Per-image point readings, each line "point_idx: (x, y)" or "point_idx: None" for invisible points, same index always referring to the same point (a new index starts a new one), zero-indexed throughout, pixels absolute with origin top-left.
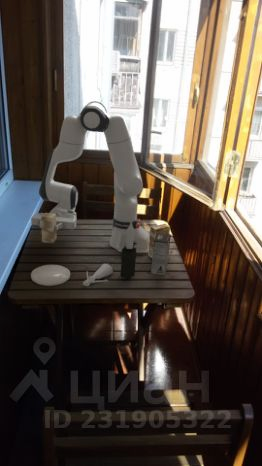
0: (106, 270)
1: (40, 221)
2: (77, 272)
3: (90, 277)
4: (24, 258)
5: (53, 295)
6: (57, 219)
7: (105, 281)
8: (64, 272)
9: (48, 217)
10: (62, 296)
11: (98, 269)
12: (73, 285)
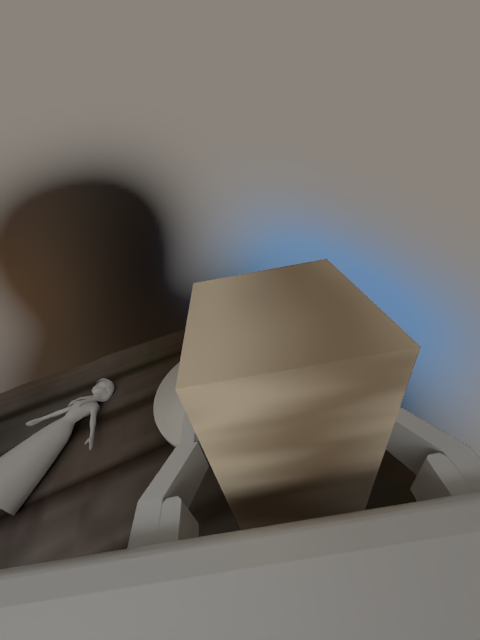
0: (1, 456)
1: (459, 443)
2: (131, 451)
3: (81, 401)
4: (407, 468)
5: (183, 334)
6: (230, 604)
7: (37, 421)
8: (174, 412)
9: (239, 276)
10: (164, 339)
11: (34, 449)
12: (142, 379)
